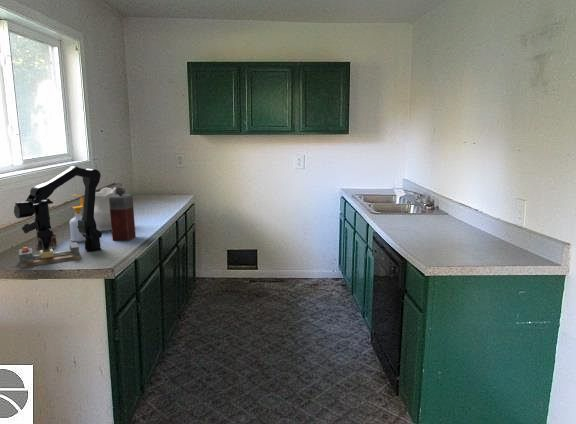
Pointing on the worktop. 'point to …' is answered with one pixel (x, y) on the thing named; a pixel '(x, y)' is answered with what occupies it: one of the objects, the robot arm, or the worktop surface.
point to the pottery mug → (53, 241)
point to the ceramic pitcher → (103, 209)
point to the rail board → (32, 260)
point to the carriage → (46, 252)
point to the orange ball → (25, 249)
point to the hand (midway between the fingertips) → (46, 248)
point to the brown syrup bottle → (122, 216)
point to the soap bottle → (76, 223)
